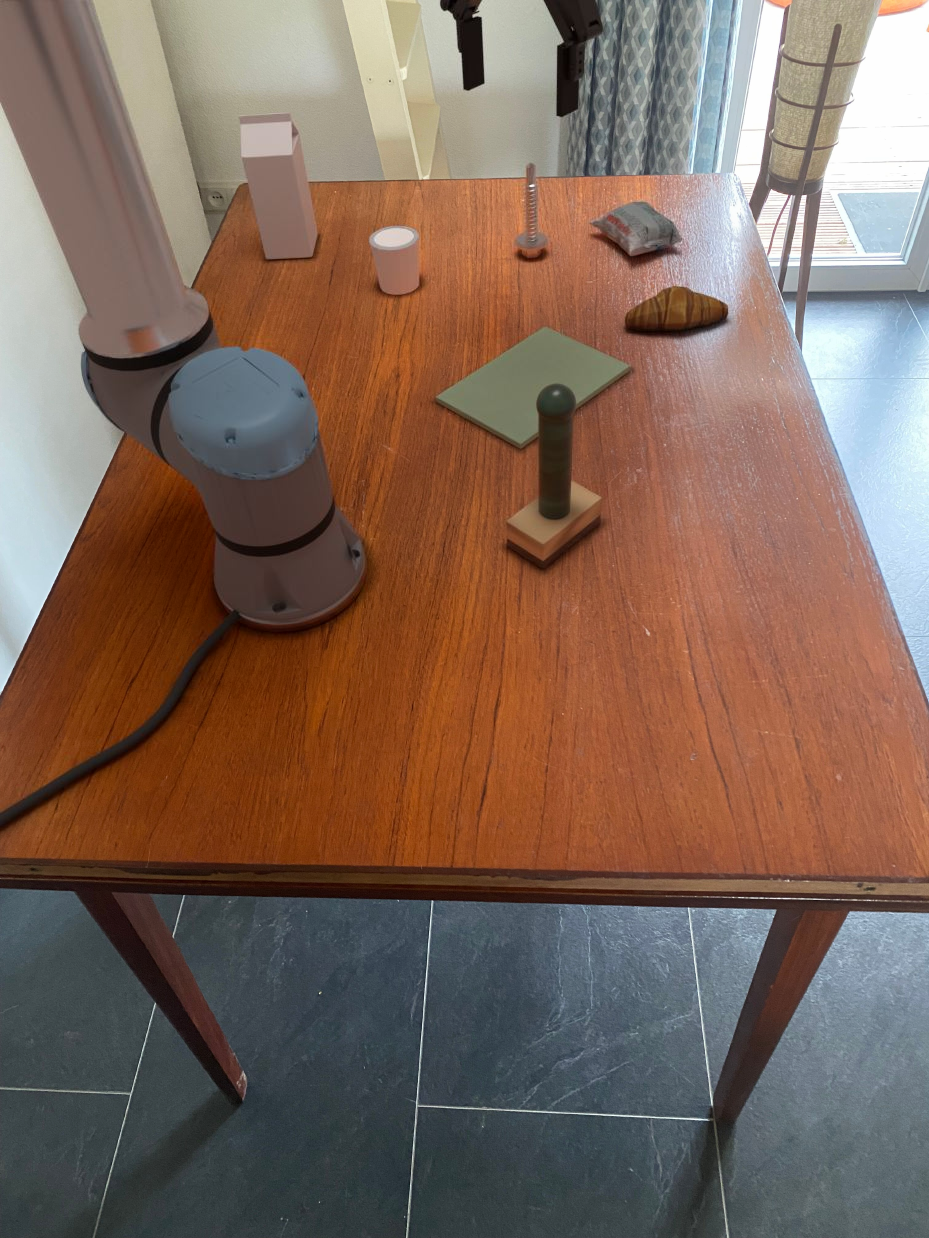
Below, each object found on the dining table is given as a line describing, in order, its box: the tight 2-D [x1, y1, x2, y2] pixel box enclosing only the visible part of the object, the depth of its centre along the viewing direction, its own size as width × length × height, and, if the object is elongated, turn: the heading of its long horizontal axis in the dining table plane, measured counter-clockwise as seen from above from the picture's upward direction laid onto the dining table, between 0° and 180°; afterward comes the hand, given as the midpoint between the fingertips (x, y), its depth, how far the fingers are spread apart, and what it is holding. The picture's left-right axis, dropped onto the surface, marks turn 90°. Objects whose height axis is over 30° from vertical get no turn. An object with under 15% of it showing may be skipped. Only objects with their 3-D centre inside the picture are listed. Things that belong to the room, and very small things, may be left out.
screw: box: [514, 162, 549, 259], centre depth 127 cm, size 13×5×5 cm
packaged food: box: [589, 201, 683, 257], centre depth 130 cm, size 9×12×5 cm
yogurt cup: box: [368, 225, 420, 296], centre depth 126 cm, size 7×7×7 cm
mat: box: [435, 326, 631, 450], centre depth 111 cm, size 20×14×1 cm
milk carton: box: [238, 112, 319, 260], centre depth 131 cm, size 7×7×19 cm
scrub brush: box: [505, 383, 603, 570], centre depth 87 cm, size 9×5×18 cm, turn 135°
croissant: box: [624, 285, 729, 332], centre depth 116 cm, size 14×7×5 cm, turn 95°
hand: (519, 99), depth 99 cm, fingers open, 13 cm apart
